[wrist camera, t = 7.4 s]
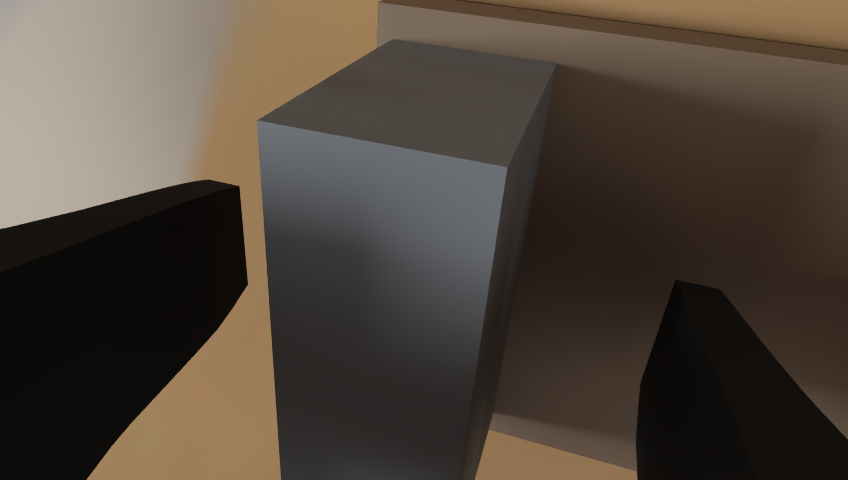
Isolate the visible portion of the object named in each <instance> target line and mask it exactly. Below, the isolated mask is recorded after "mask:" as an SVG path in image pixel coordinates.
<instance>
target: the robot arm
mask: <svg viewBox="0 0 848 480" xmlns="http://www.w3.org/2000/svg"><path fill="white" fill-rule="evenodd" d="M247 285H248V280H247V268H246V257H245V245H244V234H243V222H242V211H241V199H240V188H239V186H236V185H232V184H227V183H222V182H218V181H213V180H201V181H194V182H189V183H184V184H179V185H175V186H170V187H166V188H162V189H158V190H154V191H150V192H146V193H143V194H139V195H135V196H131V197H128V198H124V199H120V200H116V201H113V202H109V203H105V204H102V205H98V206H94V207H90V208H87V209H83V210H79V211H75V212H71V213H66V214H62V215H58V216H54V217H50V218H46V219H42V220H37V221H33V222H29V223H25V224H21V225H17V226H12V227H9V228H3V229H0V480H86V479H87V478H88V477H89V476H90V474H91V473H92V472H93V470H94V469H95V468H96V466H97V465H98V464H99V462H100V461H101V460H102V458H103V457H104V456H105V454H106V453H107V452H108V450H109V449H110V448H111V446H112V445H113V444H114V443H115V442H116V440H117V439H118V438H119V437H120V436H121V434H122V433H123V432H124V431H125V430H126V429H127V427H128V426H129V425H130V424H131V423H132V422H133V421H134V420H135V418H136V417H137V416H138V415H139V414H140V413H141V412H142V411H143V410H144V409H145V408H146V407H147V406H148V404H149V403H150V402H151V401H152V400H153V399H154V398H155V397H156V396H157V395H158V394H159V393H160V392H161V390H162V389H163V388H164V387H165V386H166V385H167V384H168V383H169V382H170V381H171V380H172V379H173V378H174V376H175V375H176V374H177V373H178V372H179V371H180V370H181V369H182V368H183V367H184V366H185V365H186V364H187V362H188V361H189V360H190V359H191V358H192V357H193V356H194V355H195V354H196V353H197V351H198V350H199V349H200V348H201V347H202V346H203V345H204V344H205V343H206V342H207V340H208V339H209V338H210V337H211V336H212V335H213V334H214V333H215V331H216V330H217V329H218V328H219V327H220V325H221V324H222V322H223V321H224V320H225V318H226V317H227V315H228V314H229V312H230V311H231V310H232V308H233V307H234V305H235V304H236V302H237V300H238V299H239V297H240V296H241V294H242V293H243V291H244V290H245V288H246V287H247ZM636 459H637V478H638V480H848V439H847V438H846V437H845V436H844V435H843V434H842V433H841V432H840V431H839V430H838V428H837V427H836V426H835V425H834V424H833V423H832V422H831V421H830V420H829V419H828V418H827V417H826V416H825V415H824V414H823V413H822V412H821V410H820V409H819V408H818V407H817V406H816V405H815V404H814V403H813V402H812V400H811V399H810V398H809V397H808V396H807V395H806V394H805V393H804V391H803V390H802V389H801V388H800V387H799V386H798V384H797V383H796V382H795V381H794V380H793V379H792V378H791V376H790V375H789V374H788V373H787V372H786V370H785V369H784V368H783V367H782V366H781V364H780V363H779V362H778V361H777V360H776V358H775V357H774V356H773V355H772V353H771V352H770V351H769V350H768V349H767V347H766V346H765V345H764V344H763V342H762V341H761V340H760V339H759V337H758V336H757V335H756V334H755V332H754V331H753V330H752V328H751V327H750V326H749V325H748V323H747V322H746V321H745V320H744V318H743V317H742V316H741V315H740V313H739V312H738V311H737V309H736V308H735V307H734V306H733V304H732V303H731V302H730V301H729V299H728V298H727V297H726V296H725V295H724V294H723V292H722V291H721V290H720V289H717V288H713V287H708V286H703V285H699V284H694V283H689V282H685V281H680V280H675V282H674V285H673V288H672V291H671V294H670V297H669V300H668V303H667V306H666V309H665V312H664V315H663V318H662V321H661V324H660V326H659V329H658V332H657V335H656V338H655V341H654V344H653V347H652V350H651V353H650V356H649V359H648V362H647V365H646V368H645V371H644V374H643V377H642V379H641V382H640V392H639V404H638V415H637V430H636Z"/></svg>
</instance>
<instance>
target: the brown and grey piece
mask: <svg viewBox="0 0 848 480" xmlns="http://www.w3.org/2000/svg"><path fill="white" fill-rule="evenodd" d="M257 126H258V141H259V156H260V171H261V186H262V201H263V216H264V231H265V245H266V260H267V275H268V290H269V305H270V320H271V335H272V350H273V365H274V379H275V394H276V409H277V424H278V439H279V454H280V469H281V480H475V476H476V473H477V469H478V466H479V462H480V459H481V455H482V451H483V448H484V444H485V441H486V437H487V434H488V430H492V431H496V432H500V433H503V434H507V435H510V436H514V437H517V438H521V439H524V440H528V441H532V442H535V443H539V444H542V445H546V446H549V447H553V448H556V449H560V450H564V451H567V452H571V453H574V454H578V455H581V456H585V457H588V458H592V459H596V460H599V461H603V462H606V463H610V464H613V465H617V466H620V467H624V468H628V469H631V470H635V471H637V459H636V430H637V415H638V404H639V392H640V382H641V379H642V377H643V374H644V371H645V368H646V365H647V362H648V359H649V356H650V353H651V350H652V347H653V344H654V341H655V338H656V335H657V332H658V329H659V326H660V324H661V321H662V318H663V315H664V312H665V309H666V306H667V303H668V300H669V297H670V294H671V291H672V288H673V285H674V282H675V280H680V281H685V282H689V283H694V284H699V285H703V286H708V287H713V288H717V289H720V290H721V291H722V292H723V294H724V295H725V296H726V297H727V298H728V299H729V301H730V302H731V303H732V304H733V306H734V307H735V308H736V309H737V311H738V312H739V313H740V315H741V316H742V317H743V318H744V320H745V321H746V322H747V323H748V325H749V326H750V327H751V328H752V330H753V331H754V332H755V334H756V335H757V336H758V337H759V339H760V340H761V341H762V342H763V344H764V345H765V346H766V347H767V349H768V350H769V351H770V352H771V353H772V355H773V356H774V357H775V358H776V360H777V361H778V362H779V363H780V364H781V366H782V367H783V368H784V369H785V370H786V372H787V373H788V374H789V375H790V376H791V378H792V379H793V380H794V381H795V382H796V383H797V384H798V386H799V387H800V388H801V389H802V390H803V391H804V393H805V394H806V395H807V396H808V397H809V398H810V399H811V400H812V402H813V403H814V404H815V405H816V406H817V407H818V408H819V409H820V410H821V412H822V413H823V414H824V415H825V416H826V417H827V418H828V419H829V420H830V421H831V422H832V423H833V424H834V425H835V426H836V427H837V428H838V430H839V431H840V432H841V433H842V434H843V435H844V436H845V437H846V438H847V439H848V51H841V50H833V49H826V48H818V47H810V46H803V45H795V44H787V43H780V42H772V41H764V40H757V39H749V38H741V37H734V36H726V35H718V34H711V33H703V32H695V31H688V30H680V29H672V28H665V27H657V26H649V25H642V24H634V23H626V22H619V21H611V20H603V19H596V18H588V17H580V16H573V15H565V14H557V13H550V12H542V11H534V10H527V9H519V8H512V7H504V6H496V5H489V4H481V3H473V2H466V1H458V0H382V1H380V2H378V28H377V49H375V50H373V51H372V52H370V53H368V54H367V55H365V56H363V57H362V58H360V59H358V60H357V61H355V62H353V63H352V64H350V65H348V66H347V67H345V68H343V69H342V70H340V71H338V72H337V73H335V74H333V75H332V76H330V77H329V78H327V79H325V80H324V81H322V82H320V83H319V84H317V85H315V86H314V87H312V88H310V89H309V90H307V91H305V92H304V93H302V94H300V95H299V96H297V97H295V98H294V99H292V100H290V101H289V102H287V103H285V104H284V105H282V106H280V107H279V108H277V109H275V110H274V111H272V112H270V113H269V114H267V115H265V116H264V117H262V118H260V119H259V120H257Z"/></svg>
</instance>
